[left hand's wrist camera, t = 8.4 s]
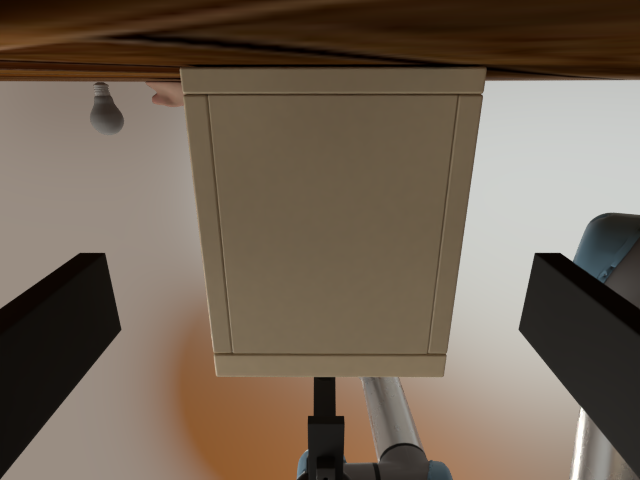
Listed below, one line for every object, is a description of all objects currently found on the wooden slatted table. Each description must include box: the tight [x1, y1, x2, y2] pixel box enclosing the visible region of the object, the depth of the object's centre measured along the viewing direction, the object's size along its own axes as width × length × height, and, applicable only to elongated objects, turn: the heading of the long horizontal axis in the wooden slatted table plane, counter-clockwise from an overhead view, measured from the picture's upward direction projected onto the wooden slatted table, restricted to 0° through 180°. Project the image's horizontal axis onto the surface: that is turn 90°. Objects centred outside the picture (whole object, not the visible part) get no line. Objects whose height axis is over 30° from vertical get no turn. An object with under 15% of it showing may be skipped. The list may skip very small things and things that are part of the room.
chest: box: [180, 67, 487, 354], centre depth 23 cm, size 17×10×11 cm, turn 0°
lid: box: [214, 351, 446, 377], centre depth 27 cm, size 18×10×8 cm, turn 0°
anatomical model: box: [146, 81, 185, 107], centre depth 51 cm, size 13×4×12 cm
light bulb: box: [90, 82, 124, 135], centre depth 80 cm, size 6×6×10 cm
